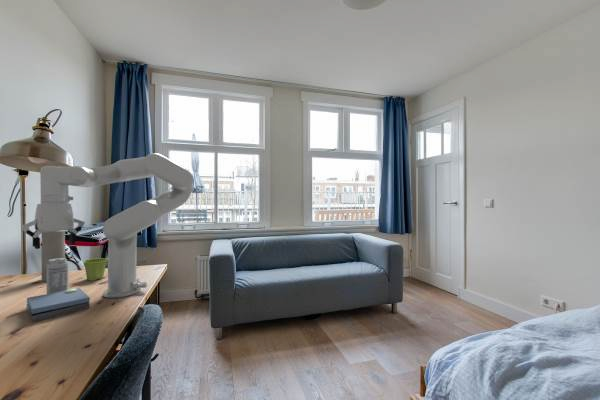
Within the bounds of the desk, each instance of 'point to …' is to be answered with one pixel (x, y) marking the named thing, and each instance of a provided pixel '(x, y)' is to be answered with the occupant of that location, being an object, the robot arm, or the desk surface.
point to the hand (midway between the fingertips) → (55, 246)
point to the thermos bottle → (52, 248)
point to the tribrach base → (56, 311)
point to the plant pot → (95, 268)
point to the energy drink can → (57, 275)
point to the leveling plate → (57, 300)
